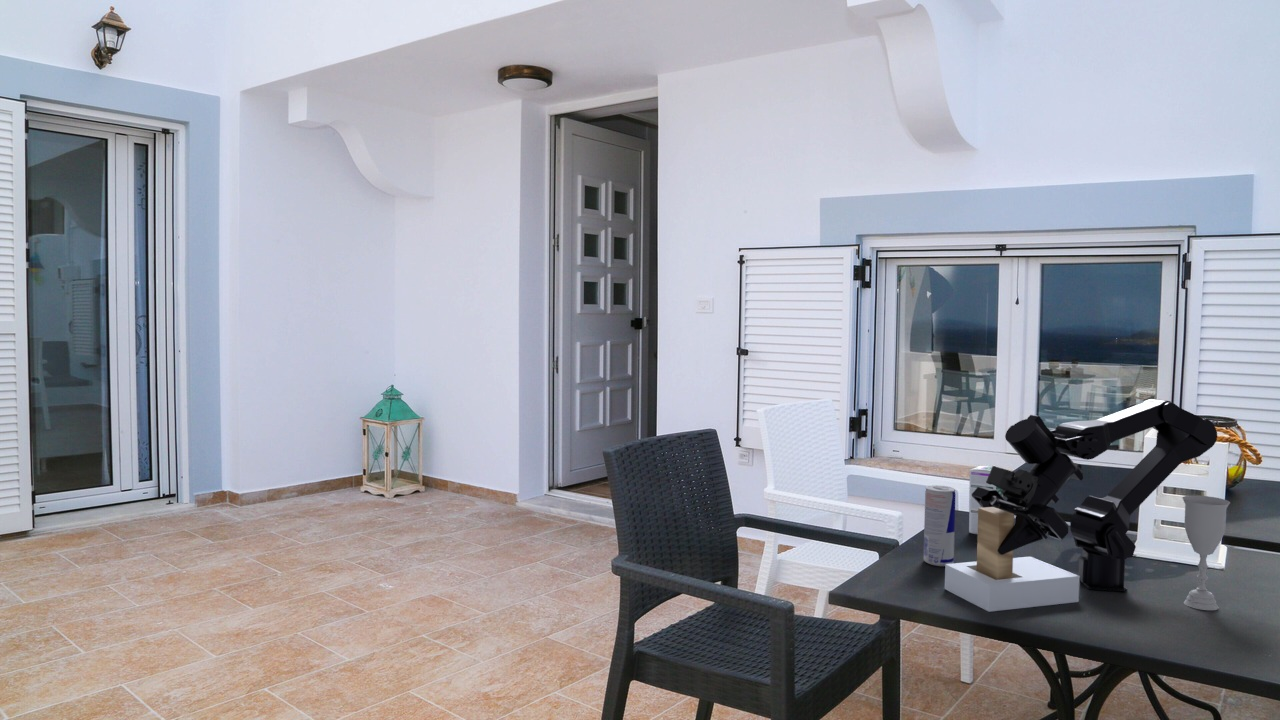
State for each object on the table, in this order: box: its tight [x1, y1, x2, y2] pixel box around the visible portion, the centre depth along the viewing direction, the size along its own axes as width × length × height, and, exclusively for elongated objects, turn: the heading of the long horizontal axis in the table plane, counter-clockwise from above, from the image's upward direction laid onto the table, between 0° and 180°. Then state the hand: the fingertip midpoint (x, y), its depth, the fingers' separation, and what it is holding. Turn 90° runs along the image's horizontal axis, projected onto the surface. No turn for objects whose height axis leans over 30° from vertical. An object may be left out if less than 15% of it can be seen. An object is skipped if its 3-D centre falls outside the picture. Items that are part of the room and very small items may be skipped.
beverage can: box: [923, 485, 957, 567], centre depth 173 cm, size 6×6×15 cm
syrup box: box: [968, 465, 1004, 535], centre depth 196 cm, size 6×6×14 cm
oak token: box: [976, 507, 1015, 580], centre depth 153 cm, size 3×6×13 cm, turn 16°
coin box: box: [944, 556, 1080, 613], centre depth 154 cm, size 18×12×4 cm, turn 106°
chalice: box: [1181, 495, 1231, 611], centre depth 149 cm, size 7×7×18 cm
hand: (988, 548), depth 153 cm, fingers closed on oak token, 5 cm apart
